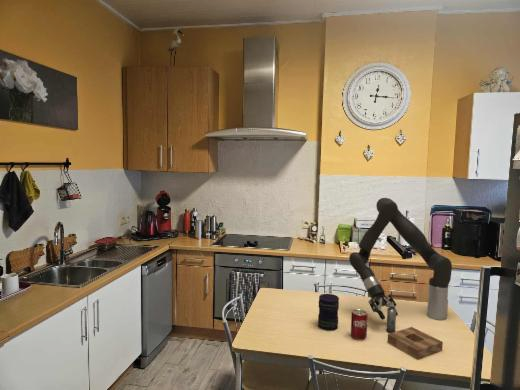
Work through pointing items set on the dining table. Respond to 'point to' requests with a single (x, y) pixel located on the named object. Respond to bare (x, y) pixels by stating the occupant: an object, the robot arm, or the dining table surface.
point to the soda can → (359, 324)
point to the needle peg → (391, 320)
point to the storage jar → (328, 312)
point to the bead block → (415, 342)
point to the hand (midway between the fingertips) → (390, 317)
